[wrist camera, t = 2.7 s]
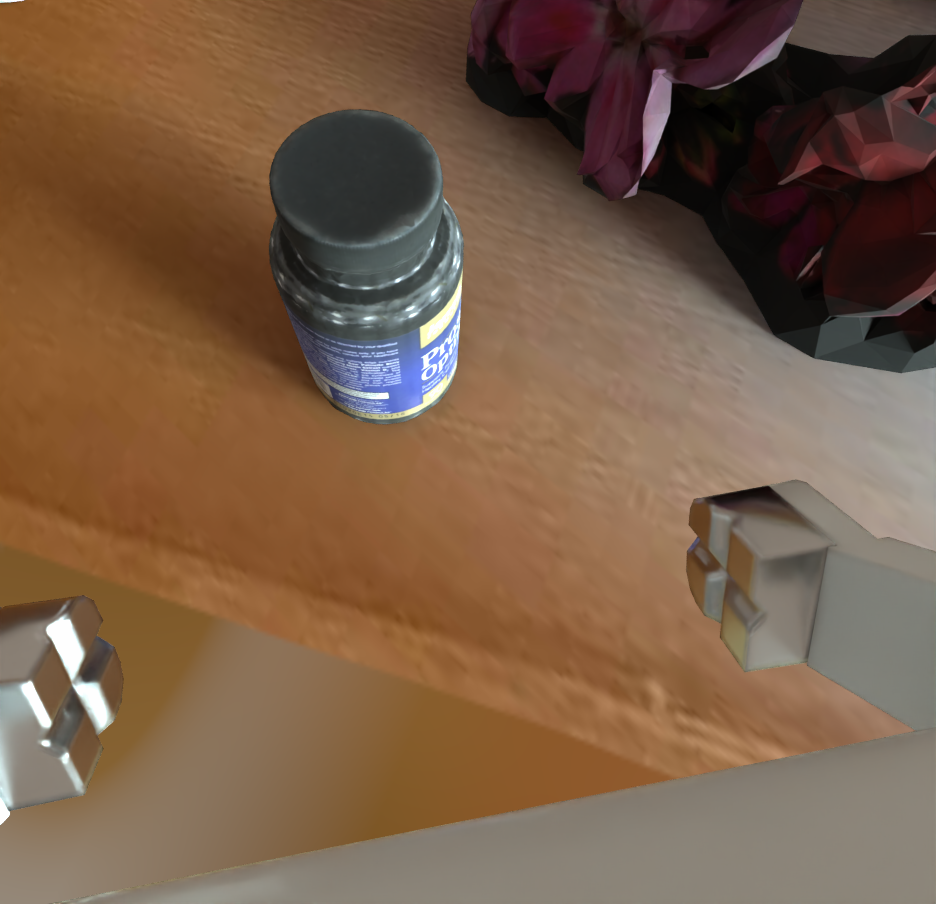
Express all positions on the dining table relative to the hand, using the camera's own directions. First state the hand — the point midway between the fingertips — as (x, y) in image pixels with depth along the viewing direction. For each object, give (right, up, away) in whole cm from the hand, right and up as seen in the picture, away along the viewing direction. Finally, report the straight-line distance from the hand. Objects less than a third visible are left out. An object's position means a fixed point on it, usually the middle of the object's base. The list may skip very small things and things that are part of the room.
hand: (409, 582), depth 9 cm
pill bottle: (-3, +6, +20) cm, 21 cm away
